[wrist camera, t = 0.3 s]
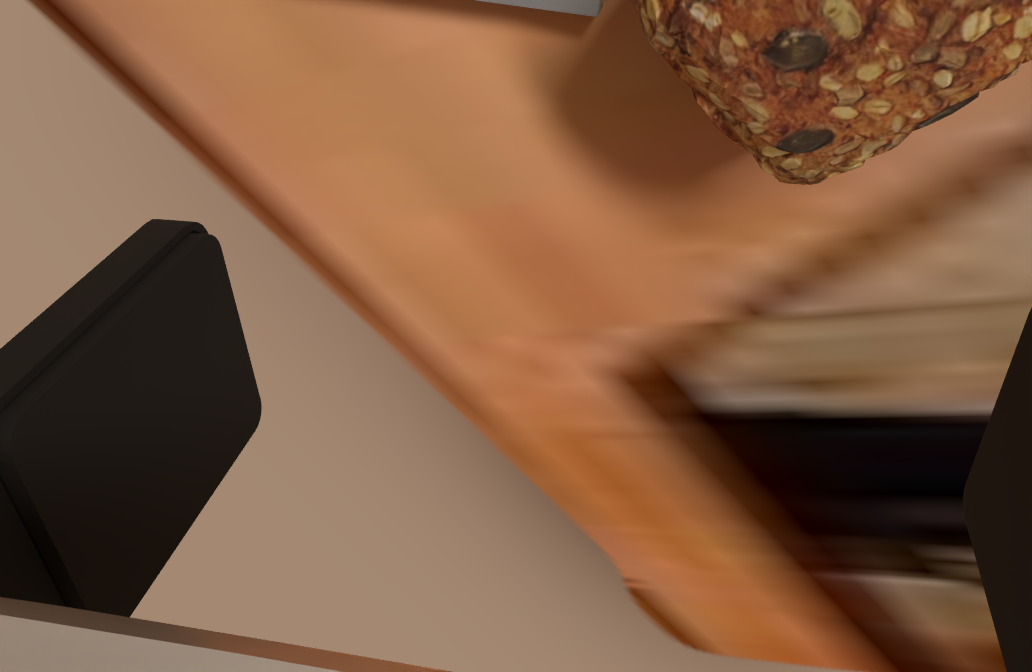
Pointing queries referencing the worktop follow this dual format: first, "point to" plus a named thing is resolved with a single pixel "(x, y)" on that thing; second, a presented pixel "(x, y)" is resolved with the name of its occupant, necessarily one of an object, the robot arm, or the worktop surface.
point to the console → (558, 5)
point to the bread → (834, 70)
